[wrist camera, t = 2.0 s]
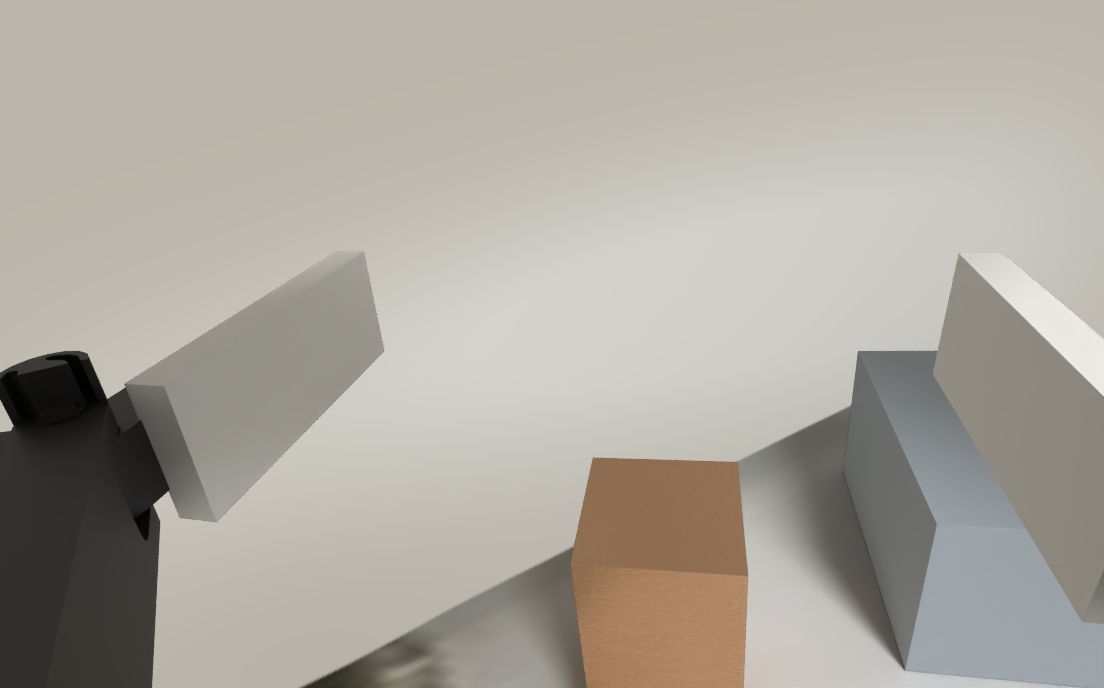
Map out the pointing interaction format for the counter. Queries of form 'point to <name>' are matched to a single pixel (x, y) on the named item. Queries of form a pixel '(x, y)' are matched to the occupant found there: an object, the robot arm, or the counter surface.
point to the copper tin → (661, 575)
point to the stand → (953, 540)
